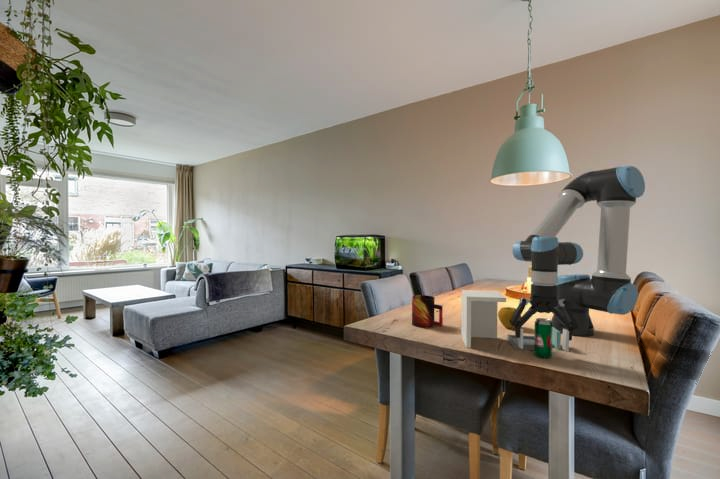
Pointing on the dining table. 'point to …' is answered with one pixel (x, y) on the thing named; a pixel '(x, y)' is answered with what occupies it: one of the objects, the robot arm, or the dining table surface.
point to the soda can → (543, 338)
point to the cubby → (479, 314)
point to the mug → (425, 312)
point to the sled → (529, 340)
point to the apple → (506, 316)
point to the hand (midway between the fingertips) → (542, 348)
